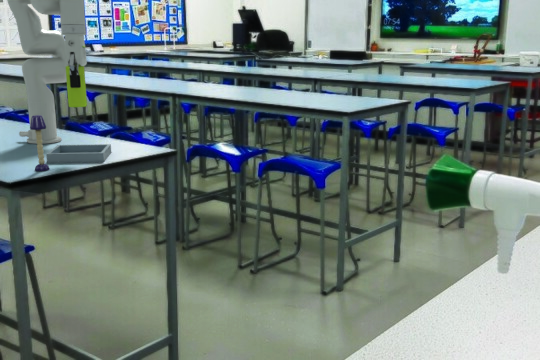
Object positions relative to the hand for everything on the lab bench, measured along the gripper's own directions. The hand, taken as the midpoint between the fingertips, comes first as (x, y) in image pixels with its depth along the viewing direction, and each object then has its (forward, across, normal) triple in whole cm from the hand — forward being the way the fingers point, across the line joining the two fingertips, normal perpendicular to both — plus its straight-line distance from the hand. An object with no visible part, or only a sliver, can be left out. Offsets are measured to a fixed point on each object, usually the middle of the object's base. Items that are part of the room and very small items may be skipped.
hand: (77, 86), depth 199 cm
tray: (+24, -1, 0) cm, 24 cm away
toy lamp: (+24, -19, +9) cm, 32 cm away
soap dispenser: (+7, 0, 0) cm, 7 cm away
